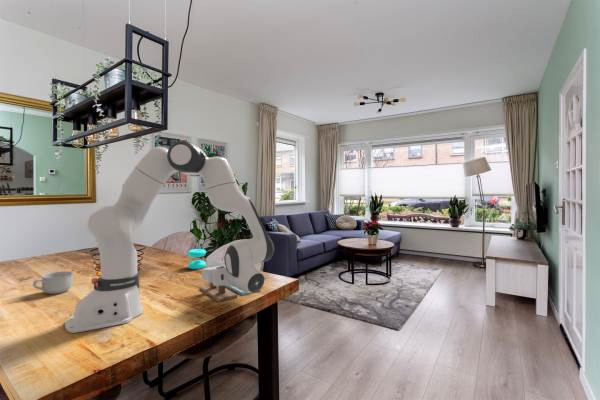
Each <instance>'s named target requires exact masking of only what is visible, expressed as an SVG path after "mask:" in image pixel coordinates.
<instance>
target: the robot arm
mask: <svg viewBox="0 0 600 400" xmlns="http://www.w3.org/2000/svg"><path fill="white" fill-rule="evenodd" d="M131 171H132V172H130V174H129V175H128V177H127V178H126V179H125V181H124V182H123V184H122V186H121V192H120V194H119V197H118V200H117V201H116V202H115V203H114V204H113V205H108V206H103V207H101V208H99V209H97V210H96V211H94V212H93V213H91V215H90V216H89V218H88V220H87V228H88V231H89V232H90V234H91V235H93V237H94V238H95V242H96V246H97V248H98V252H99V258H100V259H99V260H100V277H93V278H92V279H91V280H90V282H91V284H92V285H93V290H92V291H90V292H89V293H88V294H86V295H85V296H84V297H83V298H81V299H80V300H79V301H78V302H77V303H76V305H75V307H74V311H73V315H72V316H70V317H69V318H67V319H66V321H65V324H64V328H65V330H66V331H67V332H69V333H70V334H71V333H72V334H74V333H76V334H77V333H81V332H86V331H92V330H97V329H98V330H99V329H103V328H109V327H113V326H118V325H123V324H127V323H130V322H131V321H132V320H133V319H135V318H137V317H138V316H140V315H142V314H143V312H144V308H143V305H142V302H141V298H140V293H139V292H140V291H139V288H140V273H139V272H138V251H137V249H136V248H135V246H134V242H133V237H132V234H133V233H135V232H136V231H137V230H138V229H139V228H140V227H141V226H142V224H143V223H144V220H145V217H146V215H147V214H148V213H149V210H150V207H151V206H152V203H153V202H154V200H155V199H156V198H157V196H158V195H159V193H160V192H161V190H162V189H163V187H164V186H165V185H166V184H167V181H169V179H170V177H171V176H172V175H173V174H175V173H180V174H183V175H186V176H191V177H199V176H200V177H201V179H202V181H203V183H204V186H205V190H206V193H207V197H208V199H209V202H210V204H211V205H212V206H213V207H215V209H218V210H219V211H223V212H228V213H229V212H230V213H235V214H239V215H241V216H242V217H243V219H245V221H246V224H247V225H248V227H249V230H250V233H251V234H252V238H249V239H246V240H243V241H239V242H236V243H233V244H230V245H229V246H228V247H227V249H226V250H225V253H224V259H223V261H224V262H225V265H223V266H216V267H207V266H206V267H204V268H201V272H200V273H201V278H202V280H204V281H205V282H207V283H209V284H210V283H213V285H214V286H224V285H226V286H234V287H237V288H238V289H240V290H241V291H244V292H247V293H250V294H255V293H257V291H258V292H260V291H261V289H262V288H263V286H264V285H265V281H266V280H265V279H266V278H265V276H264V274H263V273H262V272H261V271H259V270H258V268H257V267H256V265H258V264H261V263H265V262H268V261H270V260H271V259H272V257H273V255H274V254H275V253H274V252H275V245H274V242H273V240H272V239H271V237H270V236H269V234H268V232H267V231H266V228H265V226H264V224H263V222H262V220H261V218H260V215H259V214H258V211H257V208H256V207H255V205H254V203H253V201H252V199H250V197H249V196H247V195H245V194H243V193H244V192H242V191H241V189H240V187H239V185H238V183H237V180H236V176H235V173H234V172H233V169H232V167H231V165H230V163H229V161H228V160H227V159H226V158H225V157H222V156H212V157H209V156H208V155H207V153H206V152H205V151H204V150H203V149H202V148H201V147H199V146H197V145H196V144H194V143H192V142H190V141H186V140H179V141H176V142H174V143H171V145H170V146H169V148H166V147H164V146H163V147H162V146H155V147H152V148H151V149H150V150H149V151H147V153H146V154H145V155H144V156H143V157H142V158H141V159H140V160H139V161H138V163H137V164H136V165H135V167H134V168H133V169H132V170H131ZM259 290H260V291H259Z"/></svg>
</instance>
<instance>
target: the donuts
mask: <svg viewBox="0 0 600 400" xmlns="http://www.w3.org/2000/svg"><path fill="white" fill-rule="evenodd" d="M206 254H207V251H206V249H203V248H198V249H197V248H193V249H191V250H189V251H188V252H187V255H188V256H189V257H190V258H202V257H204V256H206ZM187 267H188V269H191V270H200V269H204V268H206V267H207V261H205V260H201V259H199V260H197V259H195V260H192V261H189V262H188V265H187Z"/></svg>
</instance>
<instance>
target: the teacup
mask: <svg viewBox="0 0 600 400" xmlns="http://www.w3.org/2000/svg"><path fill="white" fill-rule="evenodd" d="M73 275H74V272H73V271H68V270H60V271H52V272H47V273H43V275H41V278H37V279H35V280H33V282H32V286H33V288H34V289H36V290H39V291H41V292H44V293H46V294H49V295H57V294H63V293H65V292H67V291H68V290H69V289H71V288H72V285H73V280H74V279H73V278H74V277H73ZM38 282H40V283H41V287H40V286H38V285H37V284H38Z"/></svg>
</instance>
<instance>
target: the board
mask: <svg viewBox="0 0 600 400" xmlns="http://www.w3.org/2000/svg"><path fill="white" fill-rule="evenodd" d="M225 288H226V289H228V290H230V291H232V292H234V293H236V294H237V295H240V296H246V295H251V293H247V292H244V291H241V290H240V289H238V288H237V287H234V286H226V285H225ZM257 292H261V289H260V290H259V291H257ZM257 292H256V293H257Z"/></svg>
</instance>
